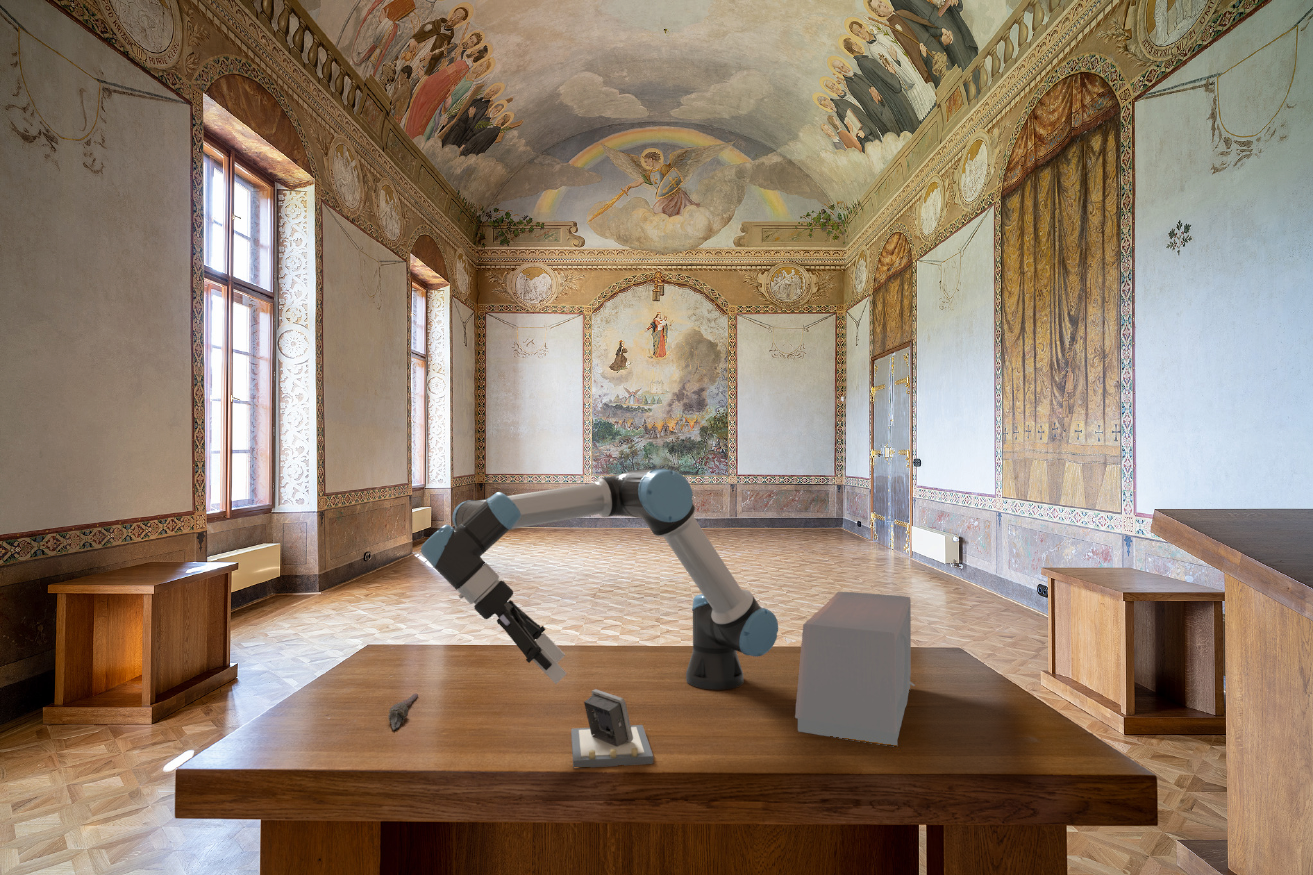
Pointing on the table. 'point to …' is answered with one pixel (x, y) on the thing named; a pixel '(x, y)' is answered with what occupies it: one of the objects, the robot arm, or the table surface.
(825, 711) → the grey rounded box
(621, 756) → the plate
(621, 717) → the electrical switch
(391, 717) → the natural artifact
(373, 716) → the table surface
